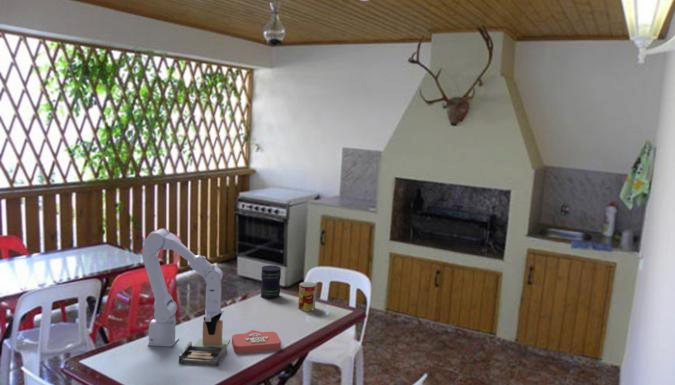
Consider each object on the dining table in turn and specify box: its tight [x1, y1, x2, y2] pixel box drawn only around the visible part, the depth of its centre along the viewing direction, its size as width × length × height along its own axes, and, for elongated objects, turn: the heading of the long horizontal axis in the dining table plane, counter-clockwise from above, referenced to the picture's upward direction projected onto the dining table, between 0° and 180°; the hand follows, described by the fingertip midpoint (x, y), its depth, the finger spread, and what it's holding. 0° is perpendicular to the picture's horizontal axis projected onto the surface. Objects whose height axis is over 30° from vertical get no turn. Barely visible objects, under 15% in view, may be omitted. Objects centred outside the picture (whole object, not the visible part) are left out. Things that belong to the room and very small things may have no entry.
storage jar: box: [260, 264, 282, 300], centre depth 256 cm, size 10×10×15 cm
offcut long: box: [186, 355, 214, 360], centre depth 180 cm, size 9×2×2 cm, turn 87°
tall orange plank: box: [202, 319, 224, 345], centre depth 195 cm, size 7×2×9 cm, turn 89°
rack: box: [178, 341, 227, 367], centre depth 183 cm, size 14×12×3 cm
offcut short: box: [191, 352, 211, 356], centre depth 182 cm, size 7×2×2 cm, turn 90°
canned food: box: [298, 281, 317, 312], centre depth 241 cm, size 8×8×12 cm
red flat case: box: [231, 329, 282, 354], centre depth 198 cm, size 18×4×15 cm
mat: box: [194, 337, 231, 348], centre depth 195 cm, size 12×8×1 cm, turn 89°
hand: (212, 332), depth 195 cm, fingers closed on tall orange plank, 2 cm apart
